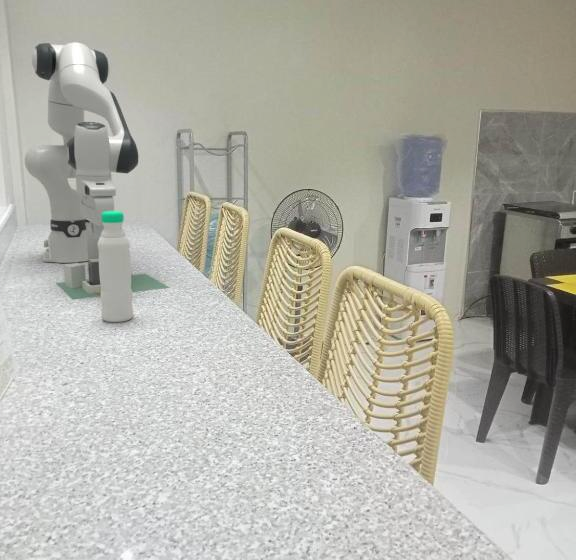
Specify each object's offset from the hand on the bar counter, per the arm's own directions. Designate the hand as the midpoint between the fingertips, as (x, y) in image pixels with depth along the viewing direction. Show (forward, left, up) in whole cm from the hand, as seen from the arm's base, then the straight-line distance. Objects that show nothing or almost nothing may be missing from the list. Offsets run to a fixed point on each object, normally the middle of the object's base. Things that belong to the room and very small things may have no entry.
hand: (96, 238), depth 152 cm
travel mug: (-23, +6, -15) cm, 28 cm away
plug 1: (-7, -5, -14) cm, 16 cm away
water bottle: (+25, -3, -15) cm, 30 cm away
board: (-3, +4, -15) cm, 16 cm away
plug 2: (0, 0, -14) cm, 14 cm away
